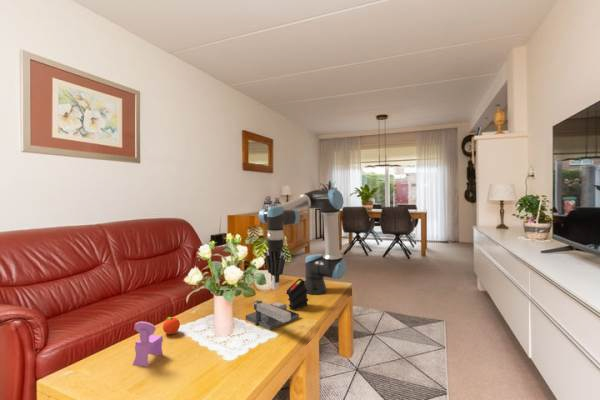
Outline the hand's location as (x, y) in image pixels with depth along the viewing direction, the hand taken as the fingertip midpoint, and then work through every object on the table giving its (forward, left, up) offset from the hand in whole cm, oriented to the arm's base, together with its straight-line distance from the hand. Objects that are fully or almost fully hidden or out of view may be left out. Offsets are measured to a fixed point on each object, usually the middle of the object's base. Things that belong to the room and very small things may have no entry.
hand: (275, 288), depth 142 cm
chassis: (-3, -5, -17) cm, 18 cm away
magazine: (-22, -6, -17) cm, 29 cm away
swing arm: (+6, +4, -9) cm, 12 cm away
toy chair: (+53, -11, -17) cm, 57 cm away
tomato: (+38, -26, -17) cm, 49 cm away
